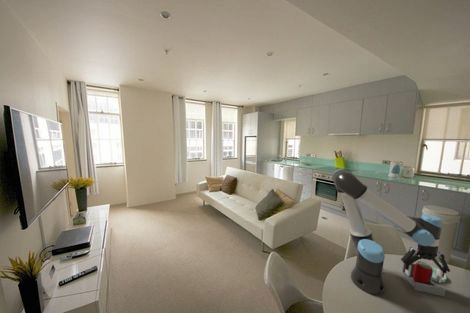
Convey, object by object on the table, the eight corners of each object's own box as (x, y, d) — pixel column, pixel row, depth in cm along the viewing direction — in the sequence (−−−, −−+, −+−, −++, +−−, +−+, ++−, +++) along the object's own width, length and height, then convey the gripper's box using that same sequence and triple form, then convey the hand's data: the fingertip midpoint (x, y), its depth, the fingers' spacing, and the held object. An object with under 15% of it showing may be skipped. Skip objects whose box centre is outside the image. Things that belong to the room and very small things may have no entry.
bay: (415, 289, 94) (417, 276, 93) (401, 272, 106) (403, 260, 105) (444, 296, 90) (446, 283, 89) (426, 278, 102) (428, 265, 101)
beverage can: (433, 290, 94) (437, 270, 92) (419, 287, 95) (422, 268, 94) (422, 280, 100) (426, 261, 99) (409, 277, 102) (412, 259, 100)
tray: (423, 278, 101) (424, 276, 101) (409, 263, 114) (409, 260, 113) (452, 285, 97) (453, 282, 97) (434, 268, 110) (435, 265, 109)
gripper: (404, 242, 95) (399, 276, 98) (465, 252, 87) (457, 289, 90) (396, 235, 102) (391, 267, 105) (452, 243, 94) (445, 278, 97)
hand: (422, 277), depth 97 cm, fingers open, 13 cm apart
